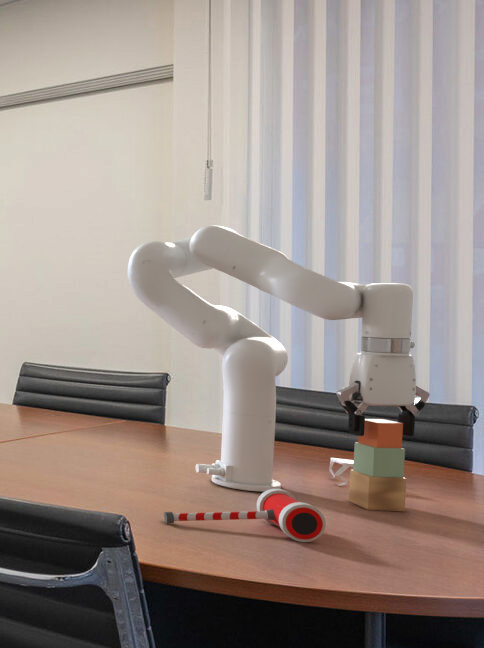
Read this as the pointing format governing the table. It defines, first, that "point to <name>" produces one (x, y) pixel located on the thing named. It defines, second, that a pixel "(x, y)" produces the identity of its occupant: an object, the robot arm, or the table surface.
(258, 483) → the robot arm
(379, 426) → the top block
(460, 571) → the table surface
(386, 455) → the middle block
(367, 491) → the base block
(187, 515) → the toy hammer
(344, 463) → the origami figure
